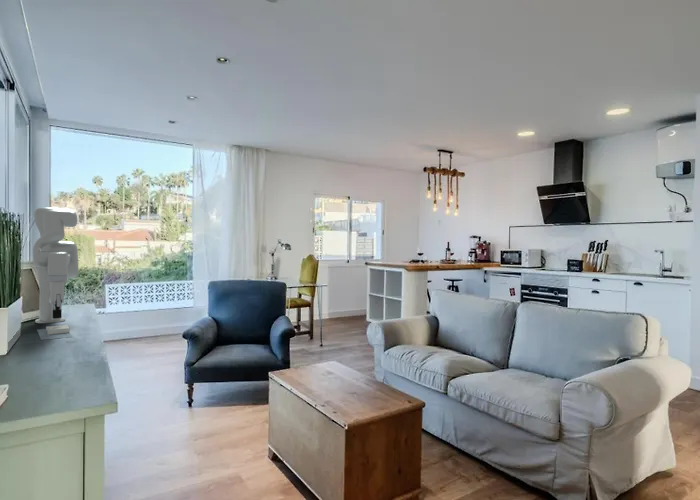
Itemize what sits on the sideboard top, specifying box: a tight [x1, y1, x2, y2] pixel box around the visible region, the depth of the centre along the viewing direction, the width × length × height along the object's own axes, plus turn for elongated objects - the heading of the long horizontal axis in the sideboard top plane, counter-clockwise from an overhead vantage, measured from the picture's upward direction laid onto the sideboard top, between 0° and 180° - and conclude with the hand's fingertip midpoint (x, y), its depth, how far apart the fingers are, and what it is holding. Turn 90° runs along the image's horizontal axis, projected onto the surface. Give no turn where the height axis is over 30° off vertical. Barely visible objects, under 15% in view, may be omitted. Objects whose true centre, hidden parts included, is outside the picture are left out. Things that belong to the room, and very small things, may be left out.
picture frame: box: [45, 324, 71, 335], centre depth 189 cm, size 2×8×9 cm
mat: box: [36, 328, 73, 341], centre depth 187 cm, size 24×11×1 cm, turn 41°
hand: (57, 317), depth 192 cm, fingers closed
